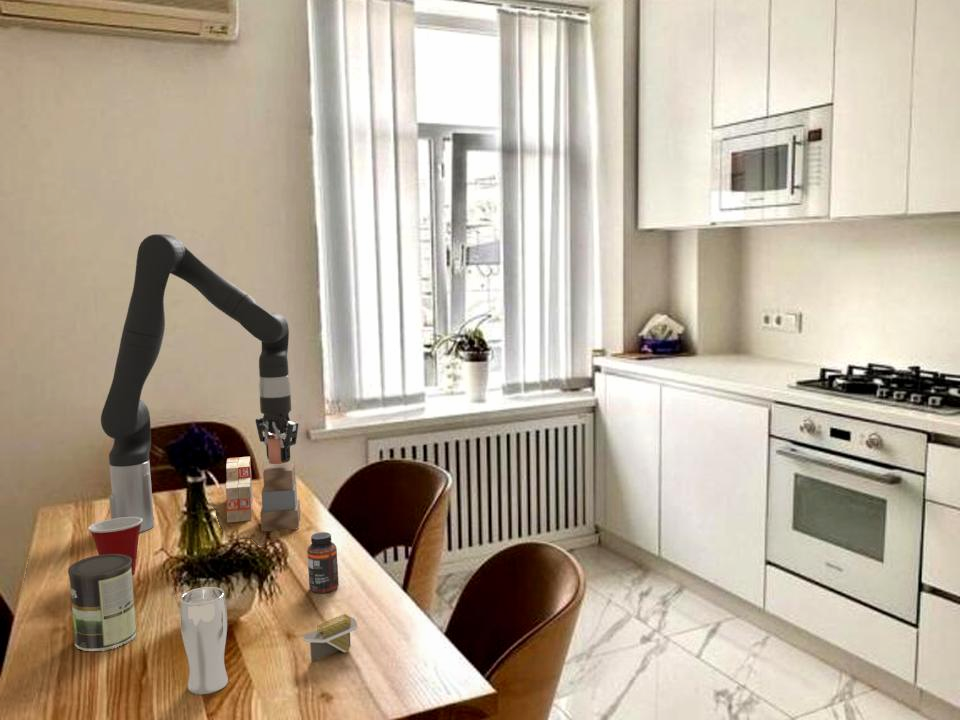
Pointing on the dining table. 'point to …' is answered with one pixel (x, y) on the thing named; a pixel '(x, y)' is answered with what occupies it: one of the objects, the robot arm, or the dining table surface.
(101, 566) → the coffee can
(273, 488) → the tower top
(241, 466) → the stack of blocks
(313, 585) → the supplement bottle
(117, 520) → the plastic cup
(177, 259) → the robot arm
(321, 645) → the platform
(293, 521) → the tower bottom
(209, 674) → the beer glass
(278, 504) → the tower middle
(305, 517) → the dining table surface
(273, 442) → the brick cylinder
